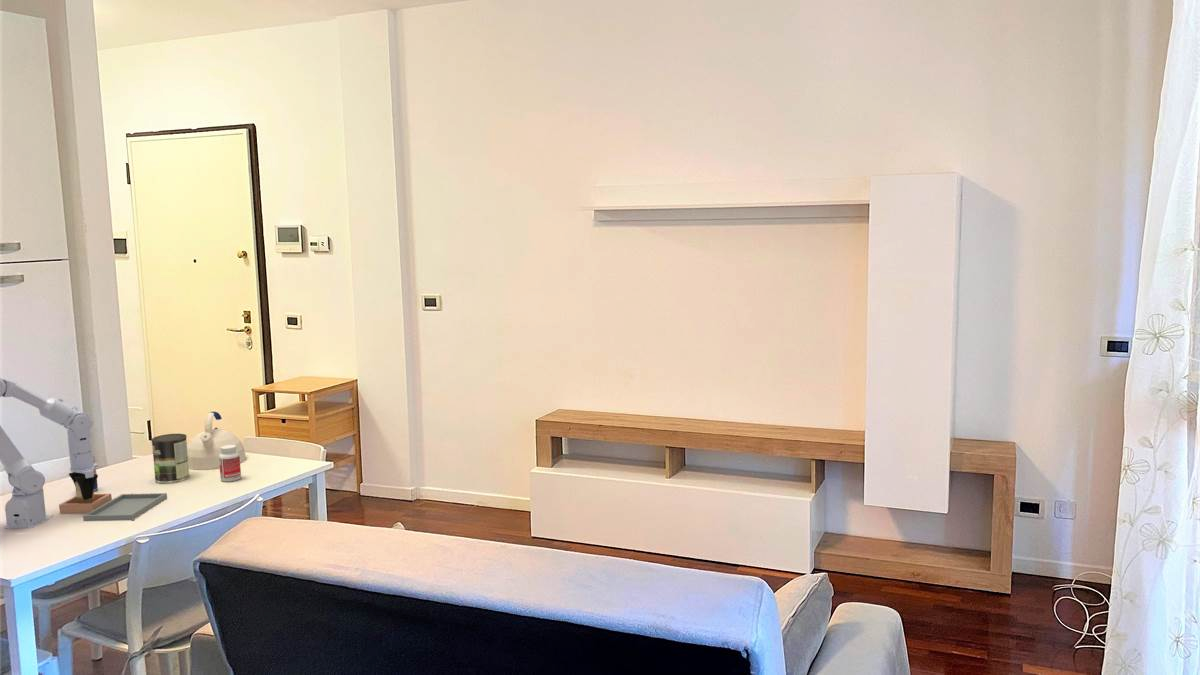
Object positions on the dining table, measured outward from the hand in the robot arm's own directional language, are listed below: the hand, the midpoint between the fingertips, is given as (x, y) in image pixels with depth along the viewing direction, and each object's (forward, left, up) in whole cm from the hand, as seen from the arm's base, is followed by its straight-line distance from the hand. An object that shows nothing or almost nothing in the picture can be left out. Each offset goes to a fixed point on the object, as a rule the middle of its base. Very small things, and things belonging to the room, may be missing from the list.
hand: (85, 496), depth 247 cm
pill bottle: (+27, -31, -4) cm, 41 cm away
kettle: (+49, -16, -4) cm, 52 cm away
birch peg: (0, 0, -3) cm, 3 cm away
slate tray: (-2, -13, -4) cm, 14 cm away
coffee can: (+29, -11, -4) cm, 31 cm away
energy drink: (+16, +9, -4) cm, 19 cm away
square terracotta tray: (0, 0, -4) cm, 4 cm away
